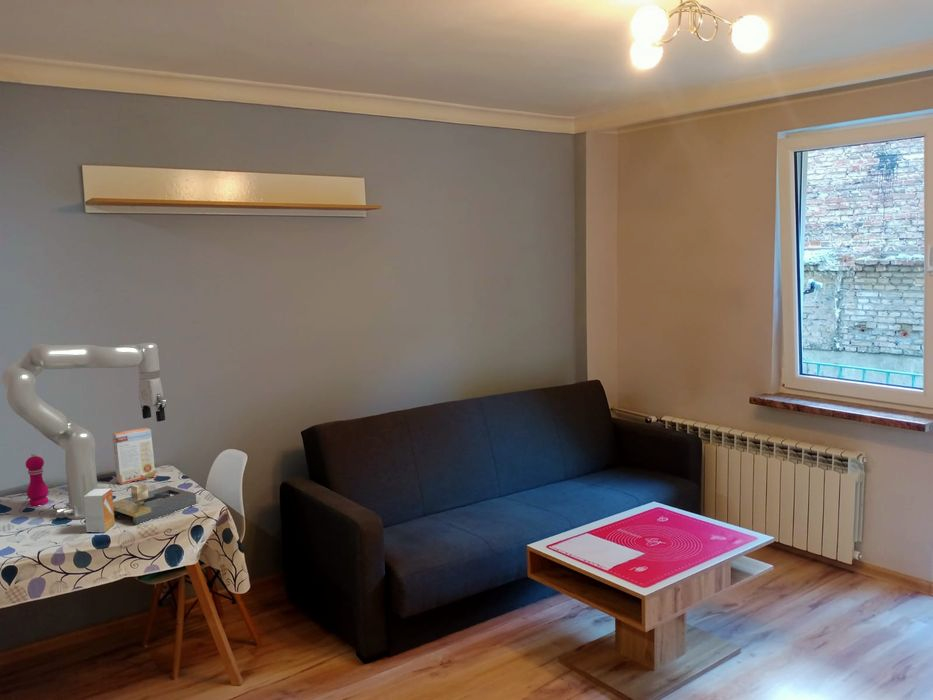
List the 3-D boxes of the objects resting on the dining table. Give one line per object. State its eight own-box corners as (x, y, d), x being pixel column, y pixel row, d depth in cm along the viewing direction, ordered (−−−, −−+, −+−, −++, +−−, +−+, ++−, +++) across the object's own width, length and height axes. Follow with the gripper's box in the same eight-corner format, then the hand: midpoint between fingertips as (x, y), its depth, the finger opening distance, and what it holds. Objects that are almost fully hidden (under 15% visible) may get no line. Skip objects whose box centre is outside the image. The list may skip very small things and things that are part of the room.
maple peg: (138, 517, 262) (136, 487, 261) (131, 514, 265) (128, 485, 264) (151, 513, 266) (149, 484, 265) (144, 510, 269) (141, 481, 268)
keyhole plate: (136, 525, 254) (135, 513, 254) (108, 515, 265) (106, 503, 264) (196, 505, 274) (195, 493, 273) (168, 496, 284) (167, 485, 283)
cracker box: (151, 474, 314) (147, 426, 311) (155, 477, 309) (151, 429, 306) (116, 481, 305) (111, 432, 302) (120, 485, 300) (116, 435, 298)
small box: (105, 532, 249) (102, 495, 247) (86, 533, 248) (82, 496, 246) (115, 523, 257) (112, 487, 255) (96, 524, 256) (93, 488, 254)
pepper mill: (29, 508, 274) (24, 456, 272) (26, 503, 280) (20, 452, 277) (51, 504, 279) (46, 452, 276) (47, 499, 284) (42, 449, 282)
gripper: (128, 375, 282) (132, 418, 284) (152, 379, 271) (157, 424, 274) (146, 372, 288) (151, 414, 290) (171, 375, 277) (175, 420, 280)
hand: (154, 419), depth 282 cm, fingers open, 9 cm apart
